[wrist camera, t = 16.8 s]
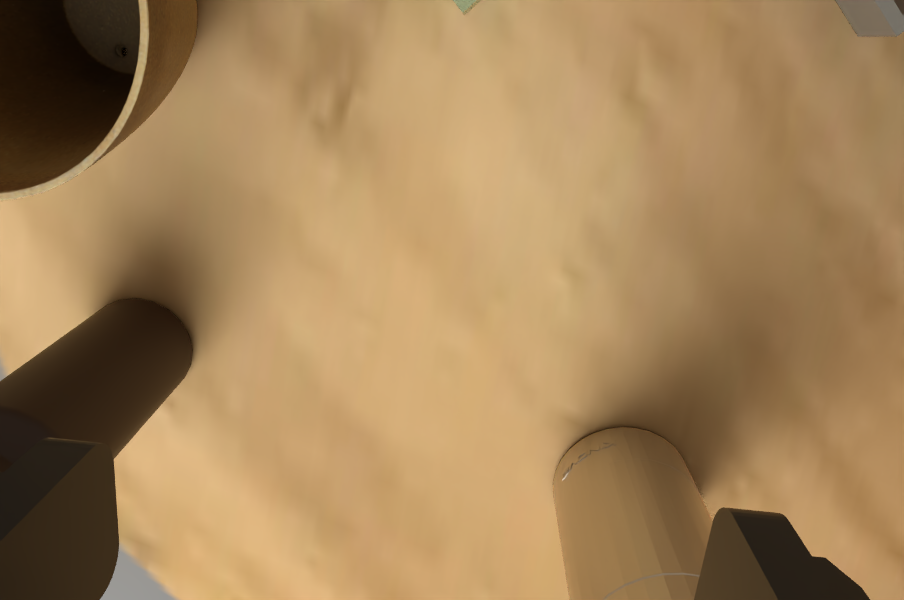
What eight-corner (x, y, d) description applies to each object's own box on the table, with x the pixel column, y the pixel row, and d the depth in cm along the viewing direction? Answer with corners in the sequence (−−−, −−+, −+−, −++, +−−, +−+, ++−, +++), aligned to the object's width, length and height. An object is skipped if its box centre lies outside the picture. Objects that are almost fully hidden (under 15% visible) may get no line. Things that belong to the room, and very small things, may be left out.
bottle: (214, 338, 48) (41, 534, 29) (160, 409, 50) (-35, 636, 31) (124, 275, 47) (-117, 436, 28) (73, 350, 49) (-185, 549, 30)
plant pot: (-20, 83, 43) (-290, 108, 28) (34, -192, 38) (-257, -340, 23) (223, 184, 44) (90, 260, 29) (304, -67, 40) (195, -130, 25)
